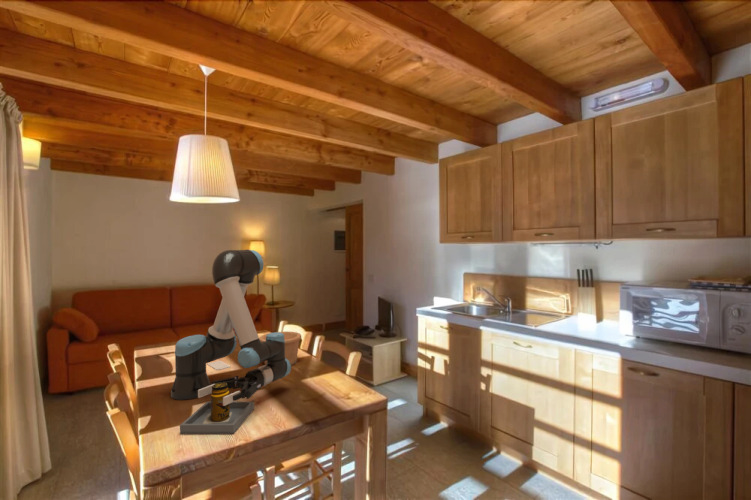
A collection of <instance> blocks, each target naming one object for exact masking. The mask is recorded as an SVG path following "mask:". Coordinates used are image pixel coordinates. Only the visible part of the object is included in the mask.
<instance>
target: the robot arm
mask: <svg viewBox="0 0 751 500" xmlns="http://www.w3.org/2000/svg"><path fill="white" fill-rule="evenodd" d="M263 270H264V259H263V256H262V255H261V254H260V253H259V252H258V251H256V250H254V249H228V250H223V251H222V252H220V253H218V255H217V256H216V257H215V259H214V260H213V263H212V269H211V275H212V280H213V282H214V286H215V287H216V288H219V292H220V295H221V296H222V297H221V301H220V305H219V308H218V310H217V314H216V317H215V319H214V323H213V325H211V326H209V327H208V330H207V332H206V335H204V334H192V335H189V336H185V337H183V338H180V339H179V340H178V341H176V344H175V346H174V347H175V349H174V357H175V359H174V360H175V361H174V362H175V364H174V365H175V366H174V367H175V377H174V381H173V384H172V387H171V390H170V396H171V398H172V399H174V400H179V401H180V400H181V401H183V400H192V399H197V398H198V399H201V398H202V397H205V396H207V395H211V394H212V386H213V385H214V384H217V383H227V384H228V389H233V390H237V389H240V390H237V391H234V392H233V393H232V392H231V393H229V395H227V396H225V397H223V406H225V405H227V404H230V403H232V402H237V401H238V400H240V399H247V400H248V399H251V398H252V396H253V395H254V394H255V393H257V391H258V390H260V389H261V388H262V387H265V386H267V385H268V384H271V383H273V382H276V381H277V380H280V379H283V378H284V377H287V376H288V375H289V374H290V373H291V371H292V365H290V362H289V360H288V359H286V358H285V339H284V334H283V333H280V332H281V331H276V332H275V331H274V332H269V333H266V334H267V336H266V341H264V342H260V339H259V337H260V336H259V335H258V332H257V330H256V326H255V324H254V321H253V318H252V316H251V315H252V314H251V313H250V309H249V307H248V304H247V301H246V299H245V296H246V292H247V290H248V286H250V285H251V284H253V283H254V280H255V277H256V276H258V275H260V274H261V273H262V272H263ZM237 341H238V343H239V346H240V351H239V352H238V354H237V361H238V364H239V365H240V366H241V367H242V368H244V369H249V368H251V367H256V366H258V365H259V364H262V363H263V362H264V361H266V360H267V364H266V365H265V364H264V365H261V366H258V367H256V368H254V369H251V370H249V371H247V372H246V373H245V375H244V376H242V377H239V376H238V375H236V376H232V377H228V378H222V379H219V380H213V381H210V379H209V375H208V373H207V363H211V362H215V361H218V360H220V359H223V358H226V357H227V356H230V355H231V354H232V353H234V351H235V350H236V347H237ZM264 363H265V362H264Z"/></svg>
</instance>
